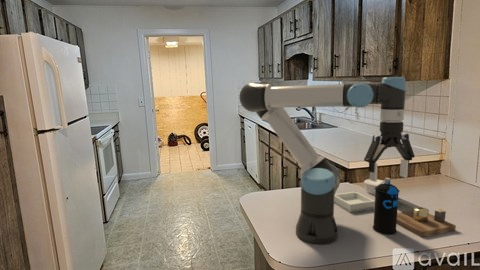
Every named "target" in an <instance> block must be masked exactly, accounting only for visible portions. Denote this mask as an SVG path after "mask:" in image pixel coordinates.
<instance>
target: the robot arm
mask: <svg viewBox="0 0 480 270" xmlns="http://www.w3.org/2000/svg"><path fill="white" fill-rule="evenodd" d="M406 82H407V81H406V78H405V77H404V76H388V77H382V80H381V82H375V83H366V82H365V83H364V82H363V83H362V82H360V83H340V84H338V83H337V84H335V83H334V84H312V85H311V84H310V85H308V84H307V85H287V86H286V85H283V86H275V85H274V84H273V83H270V82H268V81H260V82H257V81H256V82H255V81H252V82H249V83H247V84H245V85H244V86H242V88H241V90H240V91H239V94H238V95H239V102H240V104H241V106H242V108H243V109H245V110H247V111H248V112H250V113H256V114H257V116H258V117H259V118H260V119H261V120H262V121H263V120H264V121H267V123H268V124H269V126H270V127H271V128H272V130H273V131H274V133H275V134H276V136H277V137H278V138H279V140H281V142H282V143H283V145H284V146H285V148H286V149H287V150H288V152H289V154H291V156H292V157H293V158H294V160H295V161H296V163H297V164H298V166H299V167H300V175H301V180H300V213H299V216H298V219H297V222H296V226H295V235H296V236H297V238H299V239H301V240H302V241H304V242H306V243H310V244H314V245H315V244H316V245H326V244H332V243H334V242H336V241H337V240H338V238H339V228H338V226H337V222H336V219H335V216H334V214H335V203H334V196H335V194H337V193H336V192H337V190H338V189H339V186H340V184H341V175H340V172H339V169H338V168H337V167H336V166H335V165H334V164H333V163H330V161H328V160H327V158H326V156H323V155H319V154H318V153H317V151H316V150H315V149H314V147H313V146H312V144H311V143H310V141H308V139H307V138H306V136H305V135H304V134H303V132H302V130H300V128H299V127H298V126H297V124H296V123H295V122H294V120H293V119H292V117H291V116H290V114H288V112H287V111H286V109H285V108H335V107H336V108H341V107H342V108H344V107H345V108H348V107H350V108H351V107H352V108H353V107H355V108H365V107H367V106H369V105H380V116H379V118H380V119H379V120H380V121H379V122H380V123H379V132H380V135H376V134H375V135H374V134H373V135H372V139H371V140H372V141H371V143H370V145H369V147H368V150H367V151H366V155H365V156H364V159H363V161H364V162H366V163H368V171H369V179H370V180H371V181H374V182H377V179H378V165H379V164H378V163H377V162H378V161H379V159H380V157H381V156H382V154H383V153H384V152H385V150H387V149H388V148H395V149H396V150H397V151H398V153H399V154H400V157H402V158H400V165H399V167H400V170H399V177H402V178H405V179H407V178H408V170H409V168H410V161H412V160H413V159H414V158H415V153H414V150H413V146H412V144H411V141H410V135H409V133H405V132H404V122H403V121H404V118H405V105H406V91H407V90H406V88H407V86H406V84H407V83H406Z"/></svg>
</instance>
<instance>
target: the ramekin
mask: <svg viewBox="0 0 480 270" xmlns="http://www.w3.org/2000/svg"><path fill="white" fill-rule="evenodd" d="M363 182H364V188H365V189H364V190H365V191H366V193H368V194H371V195H374V196H375V191H376V190H375V187H377V186H378V185H379V184H383V183H385V180H382V179H378V178H377V182H374V181H371V180H370V178H368V179H365V180H364V181H363Z"/></svg>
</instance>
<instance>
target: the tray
mask: <svg viewBox="0 0 480 270" xmlns="http://www.w3.org/2000/svg"><path fill="white" fill-rule="evenodd" d="M334 205H337V206H339V207H340V208H341V209H343V210H345V211H346V212H348V213H350V214H351V213H356V212H362V211H368V210H374V208H375V199H372V198H370V197H368V196H365V195H364V194H362V193H360V192H357V191H349V192H343V193H335V196H334Z"/></svg>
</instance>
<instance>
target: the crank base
mask: <svg viewBox="0 0 480 270" xmlns="http://www.w3.org/2000/svg"><path fill="white" fill-rule="evenodd" d="M446 213H447V211H446V210H445V209H443V208H439V209H435V210H434V214H433V215H432V214H431V213H429V216H428V221H427V222H421V221H417V220H415V219H414V218H413V217H411V216H409V215H407V214H405V213H403V212H401V211H399V212H397V223H396V225H398V226H400V227H402V228H404V229H406V230H407V231H409V232H411V233H412V234H415V235H416V236H418V237H420V238H425V237H430V236H435V235H439V234H441V235H442V234H446V233H451V232H454V231H455V232H456V230H457V229H456V227H457V226H456V224H453V223H451V222H449V221H447V220H446Z"/></svg>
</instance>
